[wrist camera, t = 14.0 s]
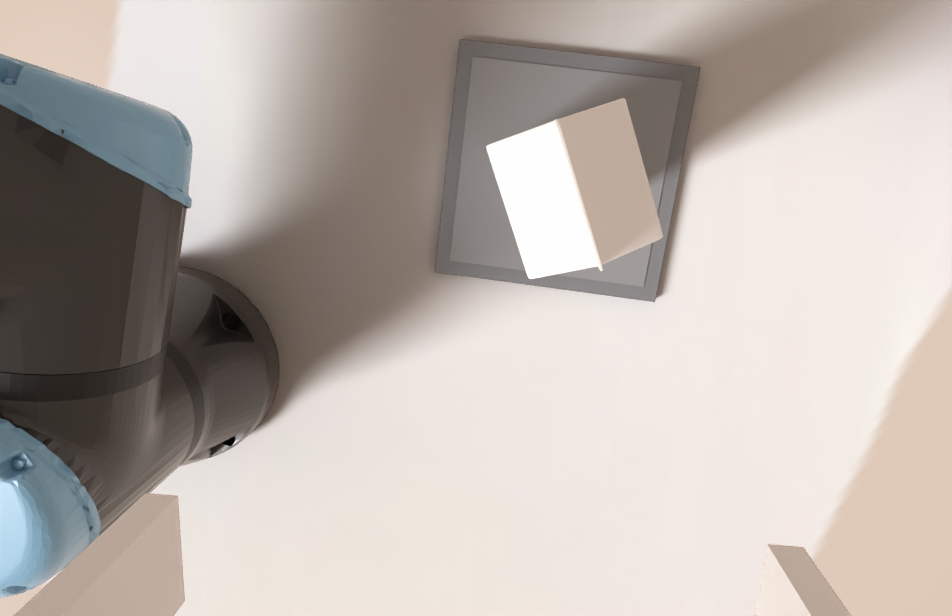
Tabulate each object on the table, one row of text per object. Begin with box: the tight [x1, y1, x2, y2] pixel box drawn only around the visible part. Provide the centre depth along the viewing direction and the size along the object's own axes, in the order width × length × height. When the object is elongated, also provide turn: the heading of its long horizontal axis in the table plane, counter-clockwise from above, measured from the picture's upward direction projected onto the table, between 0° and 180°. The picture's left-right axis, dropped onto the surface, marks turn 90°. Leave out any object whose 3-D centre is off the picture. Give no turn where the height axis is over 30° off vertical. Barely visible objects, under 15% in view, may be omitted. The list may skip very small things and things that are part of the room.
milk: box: [486, 98, 663, 279], centre depth 35 cm, size 6×6×22 cm
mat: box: [435, 39, 700, 302], centre depth 46 cm, size 16×16×1 cm
